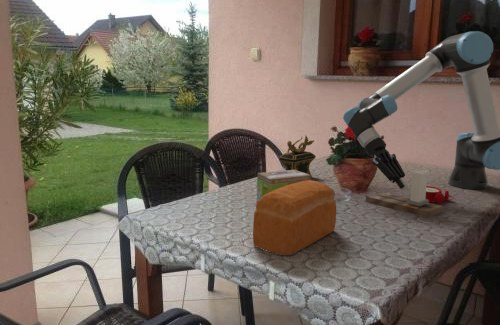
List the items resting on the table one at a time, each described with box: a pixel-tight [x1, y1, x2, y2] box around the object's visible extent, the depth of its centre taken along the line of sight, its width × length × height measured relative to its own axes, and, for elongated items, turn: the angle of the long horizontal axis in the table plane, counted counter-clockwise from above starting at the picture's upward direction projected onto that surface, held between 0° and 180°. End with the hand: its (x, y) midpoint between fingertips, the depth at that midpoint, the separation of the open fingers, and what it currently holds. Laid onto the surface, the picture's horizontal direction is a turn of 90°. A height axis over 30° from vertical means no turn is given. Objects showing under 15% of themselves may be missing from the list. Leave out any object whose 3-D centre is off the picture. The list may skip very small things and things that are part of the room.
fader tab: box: [406, 168, 431, 206], centre depth 141 cm, size 5×6×11 cm
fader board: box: [365, 191, 444, 218], centre depth 147 cm, size 24×10×2 cm, turn 40°
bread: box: [252, 180, 337, 256], centre depth 116 cm, size 14×26×16 cm, turn 140°
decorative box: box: [278, 134, 316, 177], centre depth 191 cm, size 20×10×20 cm, turn 135°
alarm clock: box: [425, 185, 455, 205], centre depth 156 cm, size 10×6×15 cm
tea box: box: [256, 169, 312, 202], centre depth 135 cm, size 15×10×15 cm
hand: (410, 194), depth 144 cm, fingers closed
